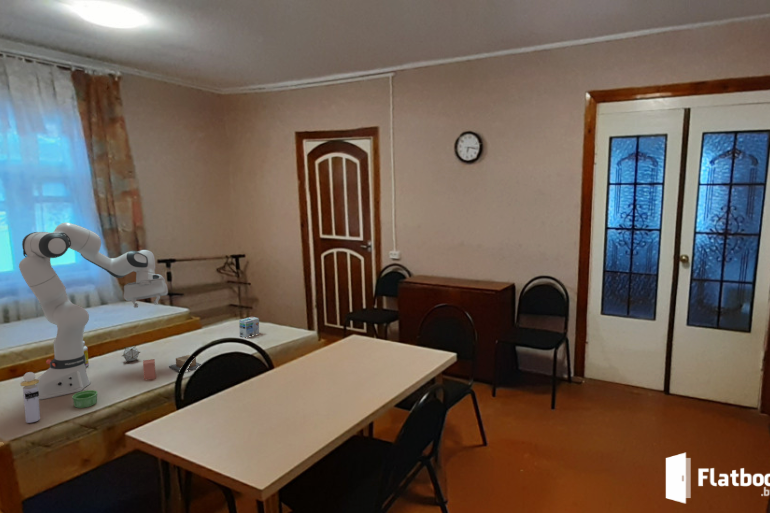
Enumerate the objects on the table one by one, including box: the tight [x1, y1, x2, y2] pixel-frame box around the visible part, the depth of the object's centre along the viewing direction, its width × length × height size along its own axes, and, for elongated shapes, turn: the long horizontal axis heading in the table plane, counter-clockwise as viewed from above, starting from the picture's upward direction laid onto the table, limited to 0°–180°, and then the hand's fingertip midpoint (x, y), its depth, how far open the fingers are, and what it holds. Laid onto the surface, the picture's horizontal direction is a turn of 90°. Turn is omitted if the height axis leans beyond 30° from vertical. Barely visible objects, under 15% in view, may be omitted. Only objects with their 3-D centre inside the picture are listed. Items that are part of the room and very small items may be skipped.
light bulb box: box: [238, 316, 260, 338], centre depth 298 cm, size 11×7×11 cm, turn 147°
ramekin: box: [71, 389, 99, 409], centre depth 200 cm, size 9×9×4 cm
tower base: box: [168, 354, 202, 373], centre depth 243 cm, size 12×12×5 cm
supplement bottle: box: [83, 340, 89, 368], centre depth 242 cm, size 7×7×13 cm
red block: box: [142, 358, 156, 381], centre depth 229 cm, size 5×5×8 cm
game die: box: [121, 345, 141, 364], centre depth 251 cm, size 9×8×10 cm
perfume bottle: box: [19, 371, 41, 424], centre depth 183 cm, size 6×6×20 cm
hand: (145, 305), depth 237 cm, fingers open, 8 cm apart
